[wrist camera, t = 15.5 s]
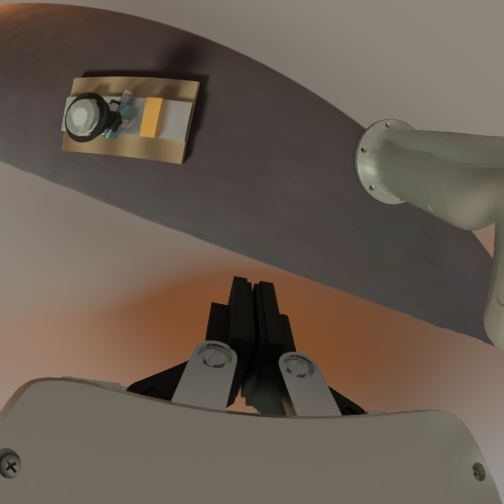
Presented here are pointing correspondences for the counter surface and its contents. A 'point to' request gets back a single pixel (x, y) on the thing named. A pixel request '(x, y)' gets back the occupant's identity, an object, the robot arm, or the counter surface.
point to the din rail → (171, 121)
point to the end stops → (151, 117)
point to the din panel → (134, 143)
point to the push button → (96, 117)
